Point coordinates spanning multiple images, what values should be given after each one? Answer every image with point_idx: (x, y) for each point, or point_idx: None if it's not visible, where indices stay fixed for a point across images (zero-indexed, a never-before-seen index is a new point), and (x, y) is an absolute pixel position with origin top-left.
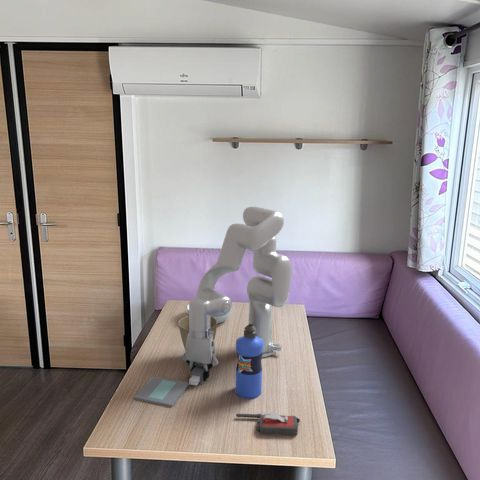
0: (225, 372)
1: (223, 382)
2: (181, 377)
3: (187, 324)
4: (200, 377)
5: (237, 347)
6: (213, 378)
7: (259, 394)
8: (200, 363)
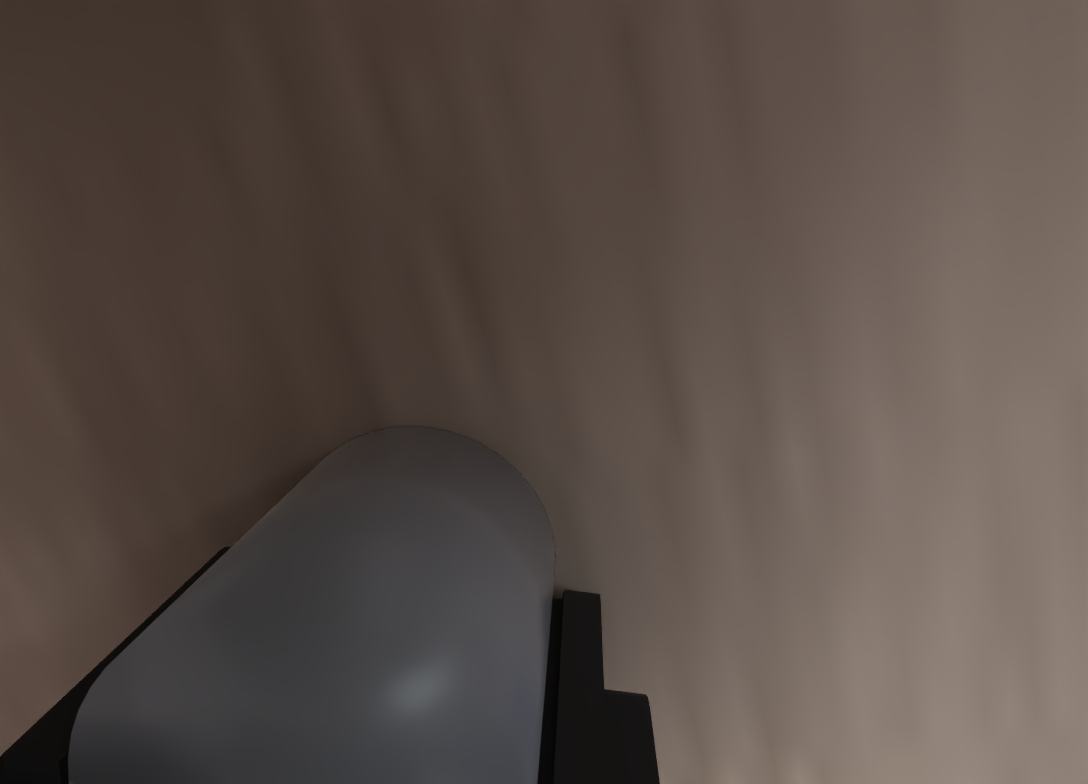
0: (1040, 212)
1: (1008, 686)
2: (4, 658)
3: None
4: None
5: None
6: (733, 571)
7: None
8: (178, 652)
